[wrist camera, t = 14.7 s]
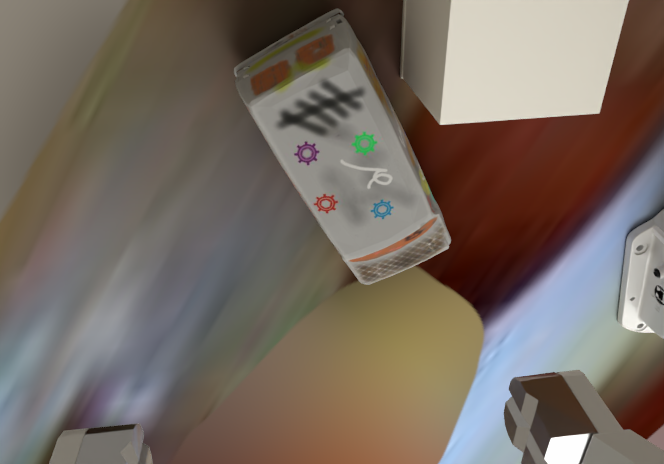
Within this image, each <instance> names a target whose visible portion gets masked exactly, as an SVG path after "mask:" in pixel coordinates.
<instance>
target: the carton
mask: <svg viewBox="0 0 664 464" xmlns="http://www.w3.org/2000/svg"><path fill="white" fill-rule="evenodd" d="M628 1H629V0H403V14H402V37H401V59H400V78H401V79H404V80H405V81H406V83H407V84H408V85H409V86H410V88H411V89H412V90H413V92H414V93H415V94H416V95H417V97H418V98H419V99H420V100H421V102H422V103H423V104H424V105H425V107H426V108H427V109H428V110H429V112H430V113H431V114H432V115H433V117H434V118H435V119H436V121H437V122H438V123H439V124H440V125H445V124H459V123H473V122H486V121H500V120H514V119H528V118H542V117H556V116H570V115H584V114H597V113H600V109H601V105H602V101H603V97H604V93H605V90H606V86H607V82H608V78H609V74H610V70H611V66H612V63H613V59H614V55H615V51H616V47H617V43H618V40H619V36H620V32H621V28H622V24H623V20H624V17H625V13H626V9H627V5H628Z"/></svg>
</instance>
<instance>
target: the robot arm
mask: <svg viewBox="0 0 664 464" xmlns="http://www.w3.org/2000/svg"><path fill="white" fill-rule="evenodd" d="M618 323H619V324H620V325H621V326H623V327H624V328H626V329H628V330H631V331H635V332H644V333H656V334H657V335H659V336H660V337H662V338H664V209H663V210H662V211H661V212H660V213H659V214H657V215H656V216H655V217H654V218H653V219H651V220H649V221H647V222H646V223H644V224H642V225H640V226H639V227H637V228H636V229H634V230H633V231H632V232H630V234H629V235H628V237H627V240H626V248H625V257H624V266H623V275H622V283H621V292H620V301H619V310H618ZM509 391H510V393H511V395H512V397H511V398H510V399H509V400H508V401H507V402H506V403H505V409H504V419H505V426H506V429H507V433H508V435H509V438H510V440H511V442H512V444H513V445H514V446H515V447H517V448H518V449H519V450H521V451H522V452H523V457H522V461H521V464H664V451H663V450H662V449H660V448H658V447H657V446H655V445H654V444H652V443H650V442H649V441H647V440H646V439H644V438H643V437H641V436H639V435H638V434H636V433H635V432H633V431H631V430H623V429H622V428H621V426H620V425H619V423H618V422H617V420H616V419H615V417H614V416H613V415H612V413H611V412H610V410H609V409H608V407H607V406H606V405H605V403H604V402H603V400H602V399H601V397H600V396H599V394H598V393H597V392H596V390H595V389H594V387H593V386H592V384H591V383H590V382H589V380H588V379H587V377H586V376H585V374H584V373H583V372H581V371H580V370H573V371H565V372H557V373H555V372H553V373H545V374H538V375H530V376H523V377H516V378H513V379H512V380H511V382H510V386H509ZM143 437H144V432H143V429H142V427H141V424H129V425H118V426H107V427H97V428H86V429H77V430H68V431H64V432H63V433H62V434H61V436H60V437H59V438H58V440H57V443H56V446H55V449H54V451H53V454H52V457H51V460H50V463H49V464H153V463H152V456H151V452H150V449H149V446H147V445H145V444H144V443H142V442H143Z"/></svg>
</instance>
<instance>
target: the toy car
mask: <svg viewBox="0 0 664 464" xmlns="http://www.w3.org/2000/svg"><path fill="white" fill-rule="evenodd" d="M339 12H340V14H341V15H339V14H338V15H336V16H334V15H335V14H337V13H339ZM332 16H333V17H332ZM343 16H344V13H343V12H342V10H340V9H338V8H337V9H335V10H332V11H330V12H328V13H326V14H324V15H323V16H321V17H319V18H317V19H316V20H314V21H312V22H310V23H308V24H307V25H305V26H303V27H301V28H300V29H298V30H296V31H294V32H292V33H291V34H289V35H287V36H285V37H284V38H282V39H280V40H278V41H277V42H275V43H273V44H272V45H270V46H268V47H267V48H265V49H263V50H262V51H260V52H258V53H257V54H255V55H253V56H252V57H250V58H248V59H247V60H245V61H243V62H242V63H240V64H239V65H237V66H236V67H235V68H234V74H235V76H236V77H237V78H236V81H235V83H236V88H237V90H238V92H239V95H240V97H241V98H242V100H243V102H244V104H245V105H246V107H247V109H248V111H249V112H250V114H251V116H252V117H253V119H254V121H255V123H256V124H257V126H258V128H259V129H260V131H261V133H262V134H263V136H264V138H265V140H266V141H267V143H268V145H269V146H270V148H271V150H272V152H273V153H274V155H275V157H276V158H277V160H278V162H279V163H280V165H281V166H282V168H283V169H284V171H285V172H286V174H287V176H288V177H289V179H290V180H291V182H292V183H293V185H294V187H295V188H296V190H297V191H298V193H299V194H300V196H301V197H302V199H303V200H304V202H305V203H306V205H307V206H308V208H309V209H310V211H311V212H312V214H313V216H314V217H315V219H316V221H317V222H318V224H319V225H320V226H321V228H322V229H323V231H324V232H325V233H326V235H327V236H328V238H329V239H330V241H331V242H332V244H333V245H334V247H335V248H336V250H337V251H338V252H339V254H340V255H341V257H342V259H343V261H345V262H346V264H347V265H348V266H349V268H350V269H351V270H352V272H353V273H354V275H355V276H356V277H357V279H358V280H359V282H360V283H363V284H371V283H374V282H377V281H379V280H382V279H384V278H387V277H390V276H392V275H395V274H397V273H399V272H402V271H404V270H406V269H409V268H411V267H413V266H415V265H417V264H419V263H421V262H423V261H426V260H428V259H429V258H431V257H433V256H435V255H437V254H439V253H441V252H442V251H444V250H446V249H448V248H449V244H450V243H451V238H450V235H449V233H448V230H447V228H446V225H445V223H444V219H443V216H442V213H441V211H440V209H439V206H438V204H437V203H436V201H435V199H434V198H433V195H432V193H431V191H430V188H429V186H428V184H427V181H426V179H425V177H424V174H423V172H422V170H421V167H420V165H419V163H418V161H417V158H416V156H415V154H414V152H413V150H412V147H411V145H410V143H409V141H408V139H407V136H406V134H405V132H404V130H403V128H402V126H401V124H400V122H399V120H398V118H397V116H396V114H395V111H394V109H393V107H392V105H391V103H390V101H389V99H388V97H387V95H386V93H385V91H384V89H383V87H382V85H381V83H380V81H379V80H378V78H377V76H376V73H375V71H374V69H373V67H372V64H371V62H370V60H369V58H368V56H367V54H366V52H365V50H364V49H363V47H362V45H361V44H360V42H359V41H358V39H357V37H356V36H355V34H354V32H353V30H352V28H351V26H350V25H349V23H348V22H347V20H346V19H345V18H344V17H343ZM330 17H331V18H330ZM328 18H329V19H328ZM248 64H249V65H248ZM243 67H244V68H243ZM242 68H243V69H242ZM240 69H242V70H240ZM238 70H240V71H239V72H238V73H237V71H238Z"/></svg>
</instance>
